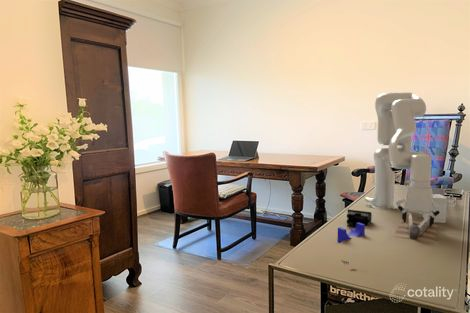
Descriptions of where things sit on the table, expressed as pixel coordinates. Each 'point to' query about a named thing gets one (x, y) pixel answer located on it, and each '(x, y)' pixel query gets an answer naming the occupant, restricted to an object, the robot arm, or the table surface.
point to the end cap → (358, 218)
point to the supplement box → (440, 201)
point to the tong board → (424, 235)
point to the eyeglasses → (451, 200)
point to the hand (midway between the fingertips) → (417, 223)
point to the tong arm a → (409, 220)
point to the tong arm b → (423, 225)
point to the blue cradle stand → (351, 232)
